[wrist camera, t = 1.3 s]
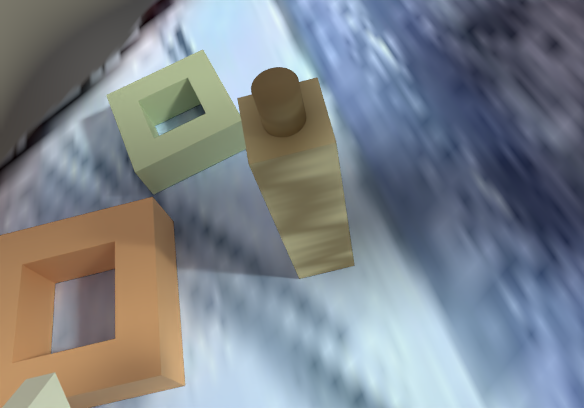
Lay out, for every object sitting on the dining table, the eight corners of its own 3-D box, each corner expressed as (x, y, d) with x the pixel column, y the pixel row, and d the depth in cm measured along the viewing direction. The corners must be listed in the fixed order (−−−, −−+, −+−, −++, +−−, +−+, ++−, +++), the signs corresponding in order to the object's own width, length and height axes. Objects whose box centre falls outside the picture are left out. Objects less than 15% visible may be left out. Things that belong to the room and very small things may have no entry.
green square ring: (214, 77, 40) (203, 49, 37) (252, 145, 36) (242, 119, 33) (124, 120, 39) (106, 95, 37) (153, 194, 35) (135, 172, 33)
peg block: (341, 216, 32) (311, 41, 19) (354, 265, 30) (331, 109, 17) (289, 229, 32) (223, 64, 19) (299, 278, 30) (235, 133, 17)
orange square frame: (173, 221, 34) (152, 196, 31) (185, 385, 28) (161, 375, 25) (23, 258, 34) (-12, 238, 31) (6, 426, 29) (-38, 421, 26)
